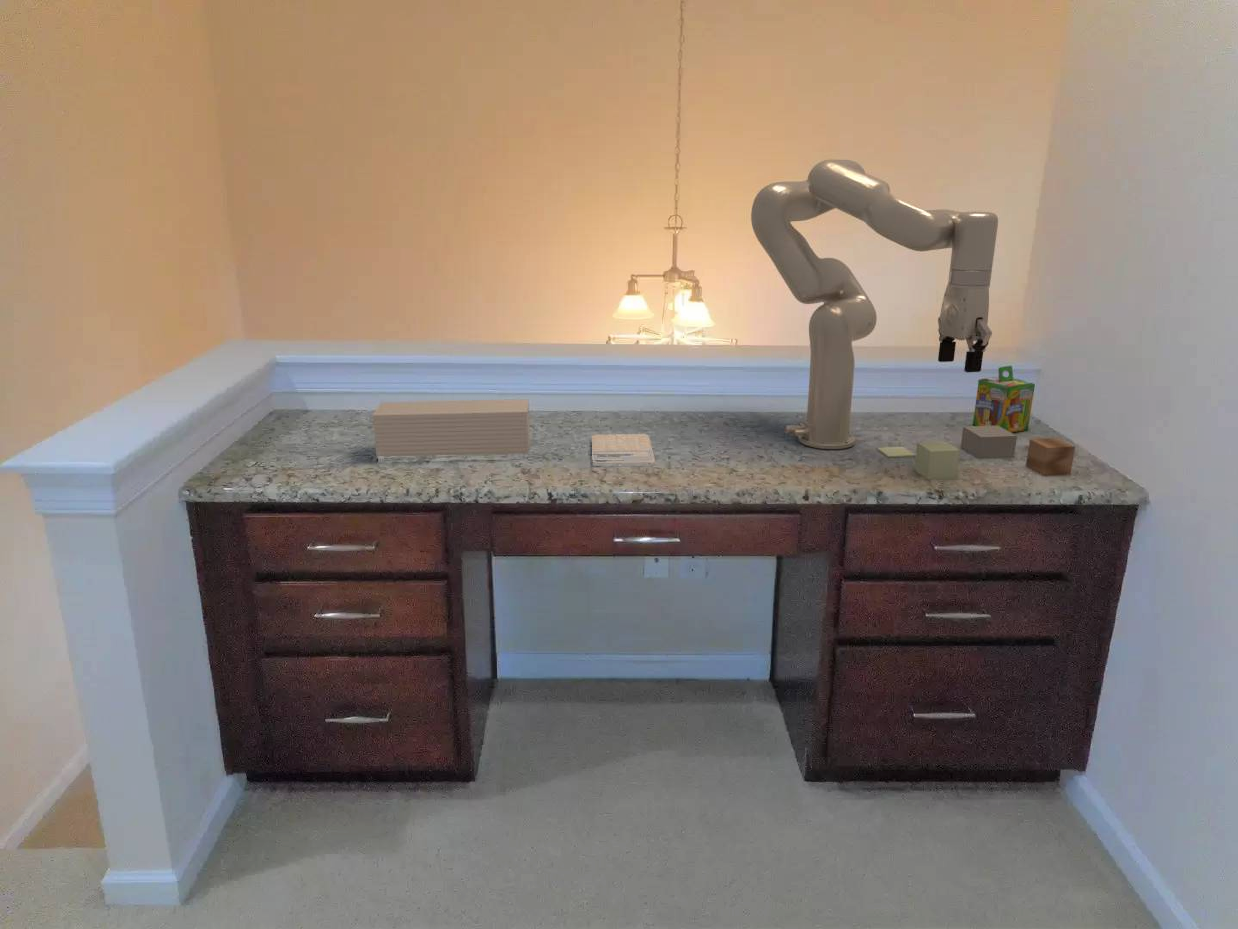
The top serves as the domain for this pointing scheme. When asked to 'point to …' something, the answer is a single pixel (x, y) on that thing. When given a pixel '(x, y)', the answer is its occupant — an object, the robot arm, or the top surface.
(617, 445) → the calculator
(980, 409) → the chalk box
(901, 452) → the tile
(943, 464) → the sage block
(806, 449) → the top surface
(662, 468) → the top surface
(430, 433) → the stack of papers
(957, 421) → the top surface
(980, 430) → the base block
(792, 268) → the robot arm
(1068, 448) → the walnut block
